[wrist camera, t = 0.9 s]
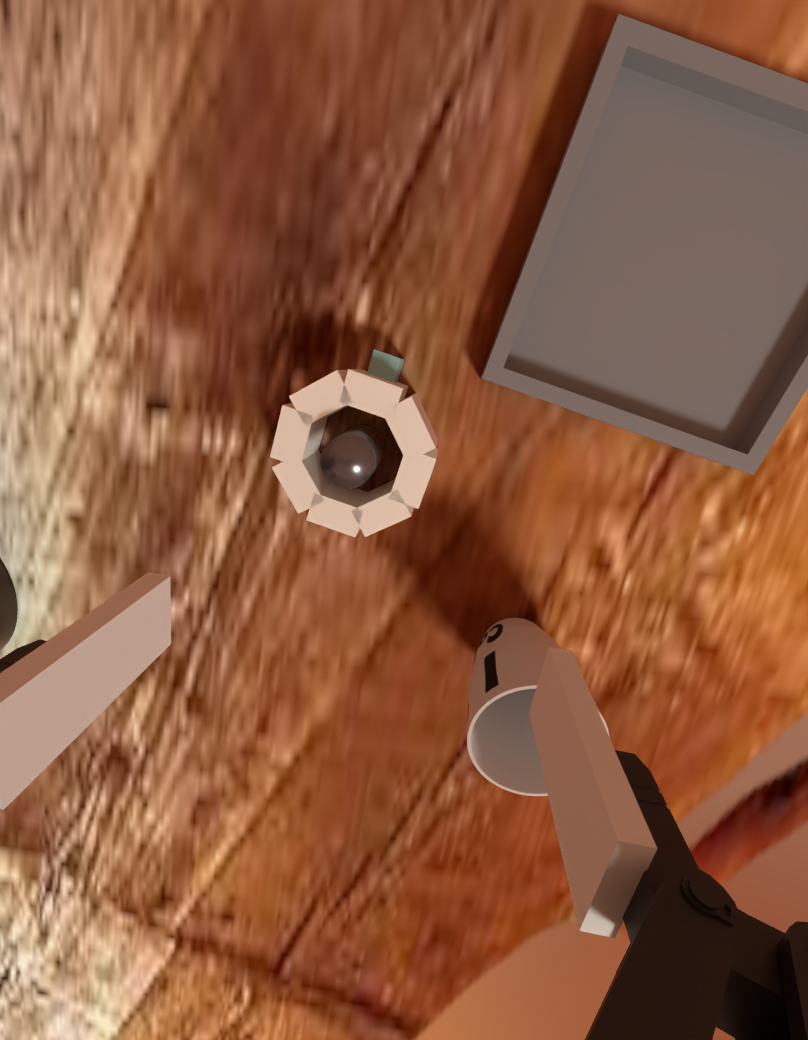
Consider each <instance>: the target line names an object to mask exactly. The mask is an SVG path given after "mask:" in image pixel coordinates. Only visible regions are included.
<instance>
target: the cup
mask: <svg viewBox="0 0 808 1040" xmlns="http://www.w3.org/2000/svg"><path fill="white" fill-rule="evenodd" d="M549 647H553V648H558V649H561V648H560V647H559V645H558V644H557V643H556V641H555V640H554V639H553V638H552V637H550V636H549V635H548V634H547V633H546V632H544V631H543V630H542V629H541V628H540V627H538V626H537V625H536V624H535V623H533V622H531V621H529V620H526V619H523V618H507V619H503V620H500V621H498V622H496V623H495V624H493V625H492V626H491V627H490V628H489V629H488V630H487V631H486V633H485V635H484V637H483V639H482V641H481V643H480V645H479V647H478V650H477V652H476V655H475V658H474V664H473V669H472V675H471V680H470V685H469V693H468V732H467V745H468V751H469V755H470V757H471V760H472V762H473V763H474V765H475V767H476V768H477V769H478V771H479V772H480V773H481V774H482V775H483V776H484V777H485V778H486V779H488V780H489V781H490V782H492V783H493V784H495V785H496V786H498V787H500V788H502V789H505V790H507V791H510V792H513V793H517V794H521V795H528V796H548V793H547V788H546V784H545V780H544V775H543V771H542V767H541V762H540V758H539V754H538V750H537V745H536V741H535V737H534V732H533V728H532V724H531V719H530V715H529V711H530V707H531V704H532V701H533V698H534V694H535V691H536V688H537V684H538V681H539V678H540V674H541V671H542V668H543V665H544V661H545V658H546V655H547V651H548V648H549ZM591 697H592V696H591ZM592 699H593V698H592ZM593 701H594V700H593ZM594 704H595V702H594ZM595 706H596V708H597V710H598V713H599V715H600V717H601V720H602V722H603V724H604V727H605V729H606V731H607V734H608V736H609V732H608V728H607V725H606V723H605V720H604V719H603V717H602V715H601V713H600V711H599V709H598V707H597V705H596V704H595Z"/></svg>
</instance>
